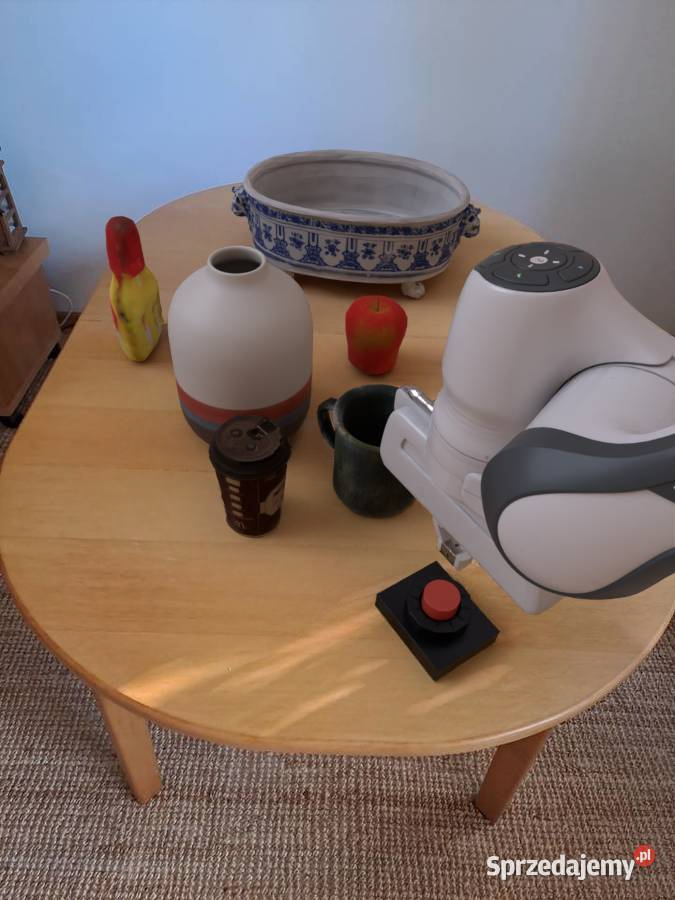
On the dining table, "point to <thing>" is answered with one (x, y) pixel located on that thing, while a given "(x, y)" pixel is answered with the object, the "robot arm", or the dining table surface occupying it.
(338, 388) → the dining table surface
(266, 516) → the coffee cup
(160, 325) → the bottle
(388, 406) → the mug
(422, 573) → the button box
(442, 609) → the red button
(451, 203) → the decorative bowl
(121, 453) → the dining table surface
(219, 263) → the vase
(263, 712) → the dining table surface
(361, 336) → the apple
